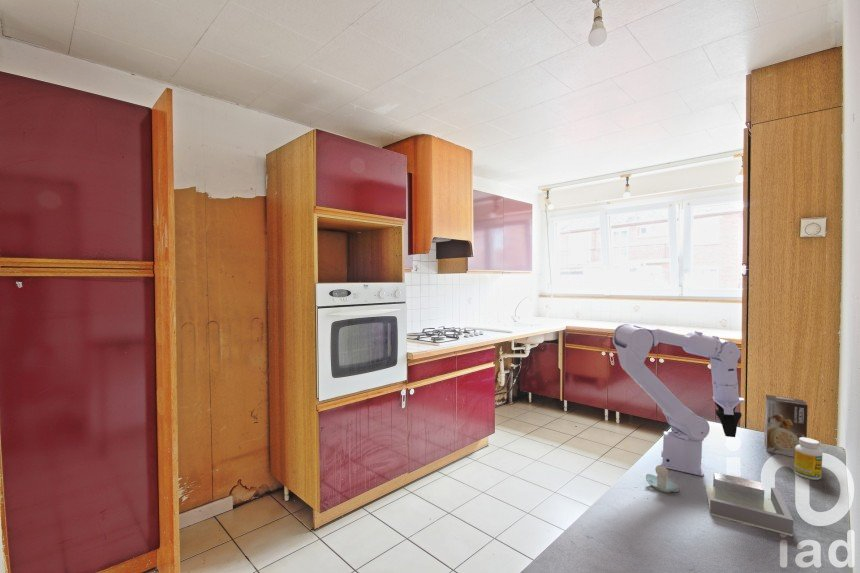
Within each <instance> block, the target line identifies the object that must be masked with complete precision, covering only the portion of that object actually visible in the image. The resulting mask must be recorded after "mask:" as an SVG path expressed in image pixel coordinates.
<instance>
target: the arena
mask: <svg viewBox="0 0 860 573" xmlns="http://www.w3.org/2000/svg"><path fill="white" fill-rule="evenodd" d="M704 487H705V491H706V492H707V493H706V492H705V493H706V497H707V498H708V499H707V503H708V504H709V505H708V510H709V515H710V516H714V517H717V518H720V519H726V520H729V521H733V522H736V523H740V524H744V525H748V526H751V527H756V528H760V529H763V530H767V531H771V532H774V533H778V534H782V535H786V536H789V537H793V534H794V531H793V530H794V519H793V516H792V515H791V513H790V511H789V507H788V506H787V505H786V502H785V501H784V498H783V497H782V495H781V493H780V490H779V488H776V487H771V488H770V498H767V497H766V498H765V497H764V509H763V510H760V509H756V508H752V507H748V506H744V505H740V504H736V503H732V502H727V501H723V500H719V499H715V498H714V495H713V485H709V484H705V485H704Z"/></svg>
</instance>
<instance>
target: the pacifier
mask: <svg viewBox="0 0 860 573" xmlns="http://www.w3.org/2000/svg"><path fill="white" fill-rule="evenodd" d="M662 465H663V464H662ZM662 465H661V464H658V465H656V466H655V469H654V470H655V473H656V475H654V474H651V473H647V474H646V475H645V479H646V482H647V483H648V484H649V485H651V486H652V487H653V488H655V489H656V490H658V491H660V492H663V493H667V492H668V493H670V492H671V493H672V492H673V493H677V492H678V493H679V491H680V488H679V484H677V483H675V482H671V481H668V479H667V478H668V477H669V473H670V472H669V469H668V468H665V467H664V466H662Z"/></svg>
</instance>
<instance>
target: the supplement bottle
mask: <svg viewBox="0 0 860 573" xmlns="http://www.w3.org/2000/svg"><path fill="white" fill-rule="evenodd" d="M820 445H821V444H820V441H819V440H816V439H813V438H810V437H807V438H805V437H801V438H799V445H797V446H796V447H795V457H794V465H793V466H794V468H793V472H794V473H795V474H796V475H797V476H800V477H802V478H804V479H809V480H814V481H817V480H820V479H822V468H823V451H822V450H821V449H819V448H820V447H821V446H820Z"/></svg>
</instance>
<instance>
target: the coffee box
mask: <svg viewBox="0 0 860 573" xmlns="http://www.w3.org/2000/svg"><path fill="white" fill-rule="evenodd" d="M808 409H809V408H808V404H807V402H806V401H804V400H803V399H800V398H799V399H798V398H791V397H785V396H777V395H773V394H772V395H771V394H765V410H764V413H765V414H764V434H763V435H764V439H763V440H764V441H763V445H764V447H765V448H764V449H765V452H767V453H772V454H778V455H781V456H787V457H792V458H795V447H796V446H797V445H799V438H801V437H805V438H808V437H807V436H808V411H809V410H808Z"/></svg>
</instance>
